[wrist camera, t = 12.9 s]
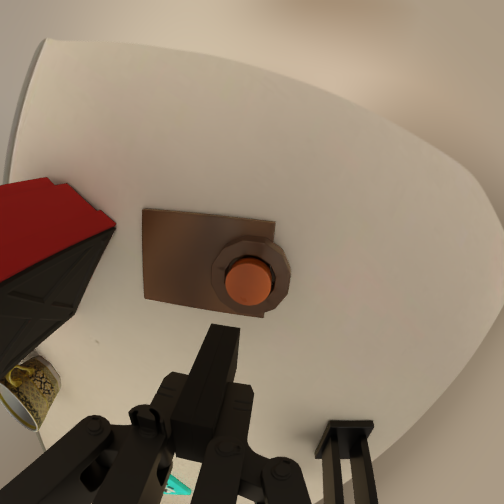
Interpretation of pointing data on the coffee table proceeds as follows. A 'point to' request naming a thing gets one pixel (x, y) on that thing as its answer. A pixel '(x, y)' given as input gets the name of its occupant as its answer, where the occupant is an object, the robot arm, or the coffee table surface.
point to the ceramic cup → (30, 391)
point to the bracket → (347, 447)
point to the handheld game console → (176, 487)
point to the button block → (207, 259)
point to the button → (249, 281)
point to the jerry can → (44, 261)
